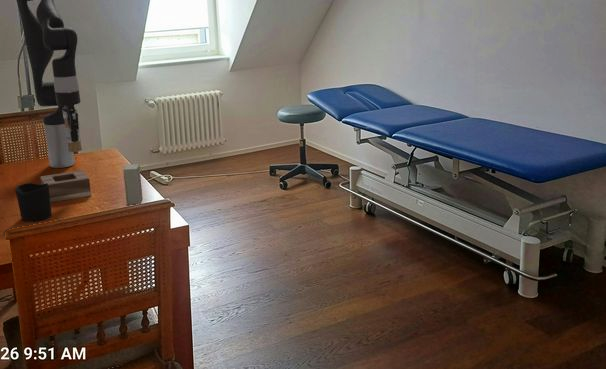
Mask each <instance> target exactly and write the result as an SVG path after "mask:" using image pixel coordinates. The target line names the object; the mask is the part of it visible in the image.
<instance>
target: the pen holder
mask: <svg viewBox="0 0 606 369" xmlns="http://www.w3.org/2000/svg"><path fill="white" fill-rule="evenodd" d="M14 190H15V195H16V200H17V204H18V208H19V210H18V211H19V213H20V217H21V218H20V219H21V220H23V221H24V222H27V223H28V222H31V223H32V222H33V223H34V222H40V221H44V220H47V219H49V218H50V217H51V216H52V204H51V203H52V202H50V194H49V185H48V183H45V184H42V185H41V184H38V183H34V182H28V183H27V182H26V183H22V184H20V185H17V186H16V187H15V188H14Z"/></svg>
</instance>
